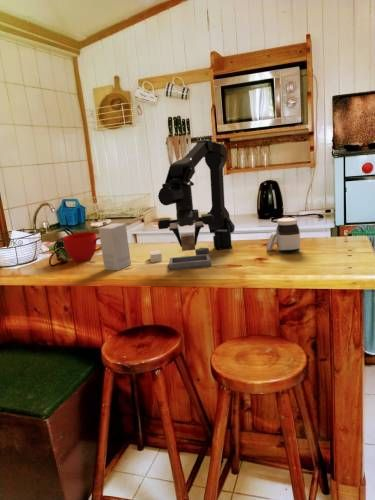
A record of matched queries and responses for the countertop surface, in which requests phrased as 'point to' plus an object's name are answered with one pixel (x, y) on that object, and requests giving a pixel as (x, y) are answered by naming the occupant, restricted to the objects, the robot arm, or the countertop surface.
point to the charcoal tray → (189, 262)
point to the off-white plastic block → (155, 255)
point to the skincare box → (114, 246)
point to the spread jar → (286, 236)
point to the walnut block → (187, 241)
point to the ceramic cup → (81, 246)
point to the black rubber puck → (202, 251)
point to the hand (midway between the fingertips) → (188, 245)
